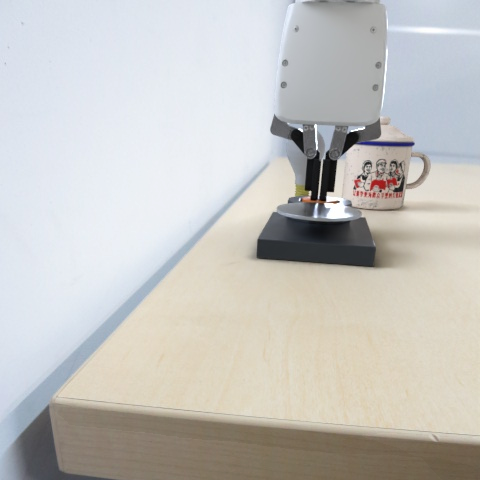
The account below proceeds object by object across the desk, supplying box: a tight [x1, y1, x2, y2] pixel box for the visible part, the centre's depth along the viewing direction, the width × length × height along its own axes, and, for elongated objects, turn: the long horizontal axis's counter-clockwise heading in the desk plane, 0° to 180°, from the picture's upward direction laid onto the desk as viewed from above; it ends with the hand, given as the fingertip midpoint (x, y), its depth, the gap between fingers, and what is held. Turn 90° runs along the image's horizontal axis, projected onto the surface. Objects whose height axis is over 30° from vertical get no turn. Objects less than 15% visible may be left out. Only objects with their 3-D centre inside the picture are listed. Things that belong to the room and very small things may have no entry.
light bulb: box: [285, 127, 326, 197], centre depth 70 cm, size 5×5×10 cm
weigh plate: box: [276, 202, 363, 222], centre depth 45 cm, size 8×8×1 cm
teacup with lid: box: [341, 116, 432, 211], centre depth 68 cm, size 12×9×12 cm
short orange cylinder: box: [302, 195, 338, 204], centre depth 51 cm, size 4×4×2 cm
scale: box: [256, 196, 377, 267], centre depth 48 cm, size 14×10×4 cm
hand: (318, 198), depth 51 cm, fingers closed
